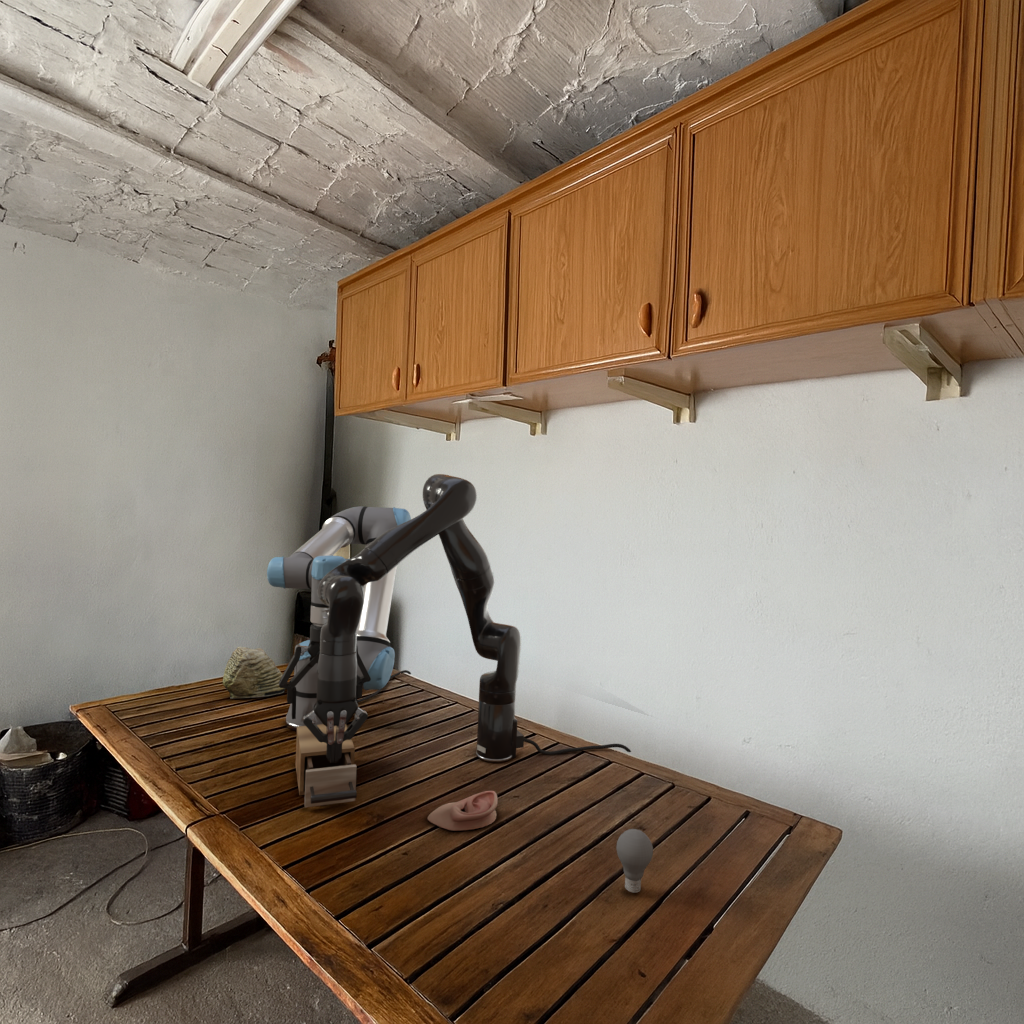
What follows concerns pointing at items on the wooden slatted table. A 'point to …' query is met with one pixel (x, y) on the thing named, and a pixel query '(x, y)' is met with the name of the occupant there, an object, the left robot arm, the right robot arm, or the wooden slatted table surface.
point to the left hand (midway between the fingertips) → (324, 714)
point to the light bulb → (634, 857)
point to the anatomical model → (467, 812)
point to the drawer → (329, 780)
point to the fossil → (251, 674)
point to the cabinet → (314, 750)
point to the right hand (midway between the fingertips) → (333, 760)
